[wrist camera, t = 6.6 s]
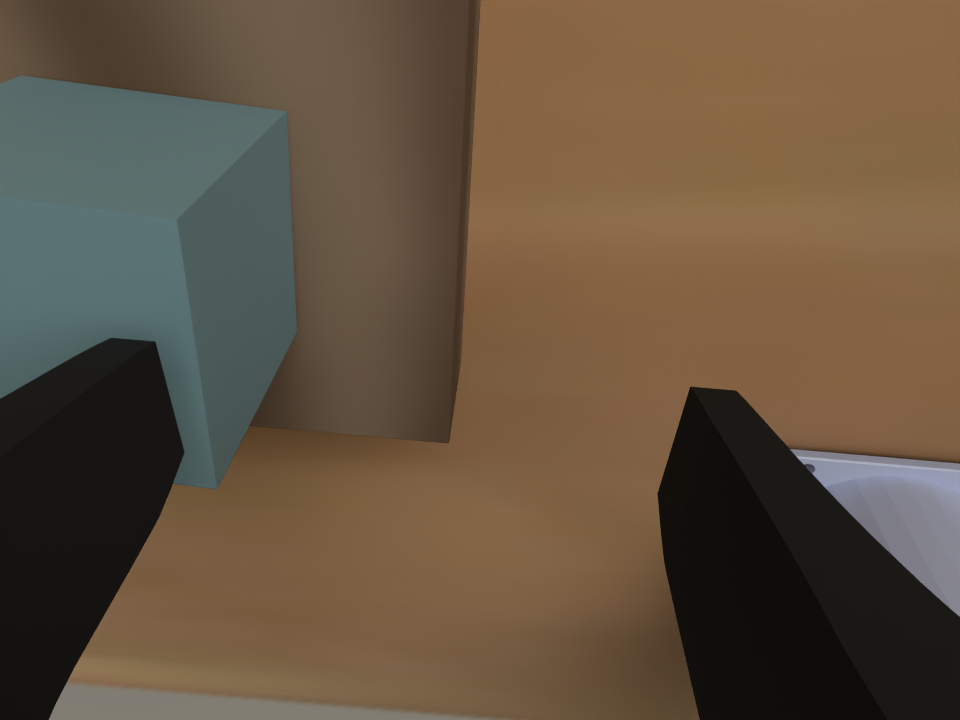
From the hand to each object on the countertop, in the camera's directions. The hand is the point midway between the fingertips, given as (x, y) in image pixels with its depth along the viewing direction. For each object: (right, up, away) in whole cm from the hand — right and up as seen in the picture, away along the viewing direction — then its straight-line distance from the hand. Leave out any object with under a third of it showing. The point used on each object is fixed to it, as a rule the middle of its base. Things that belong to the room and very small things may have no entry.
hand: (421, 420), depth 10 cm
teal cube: (-6, +4, +5) cm, 8 cm away
